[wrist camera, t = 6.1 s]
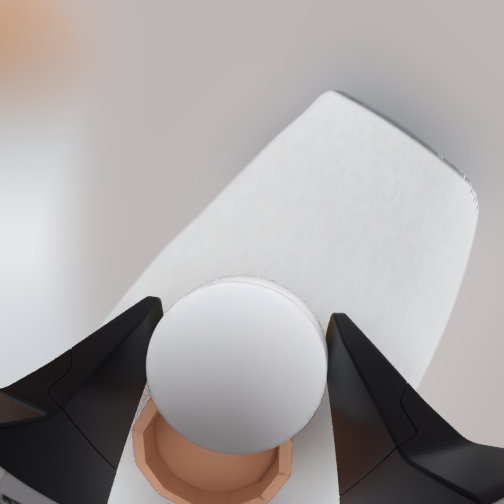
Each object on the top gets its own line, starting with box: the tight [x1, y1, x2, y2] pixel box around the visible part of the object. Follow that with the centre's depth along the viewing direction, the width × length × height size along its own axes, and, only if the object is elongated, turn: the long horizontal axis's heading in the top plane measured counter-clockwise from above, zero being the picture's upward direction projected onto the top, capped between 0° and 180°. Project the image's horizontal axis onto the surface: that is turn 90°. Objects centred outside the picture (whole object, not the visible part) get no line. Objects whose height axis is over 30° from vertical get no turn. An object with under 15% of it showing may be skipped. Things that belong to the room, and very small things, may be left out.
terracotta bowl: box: [132, 397, 292, 504], centre depth 17 cm, size 11×11×3 cm
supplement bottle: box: [146, 275, 328, 455], centre depth 11 cm, size 5×5×10 cm
